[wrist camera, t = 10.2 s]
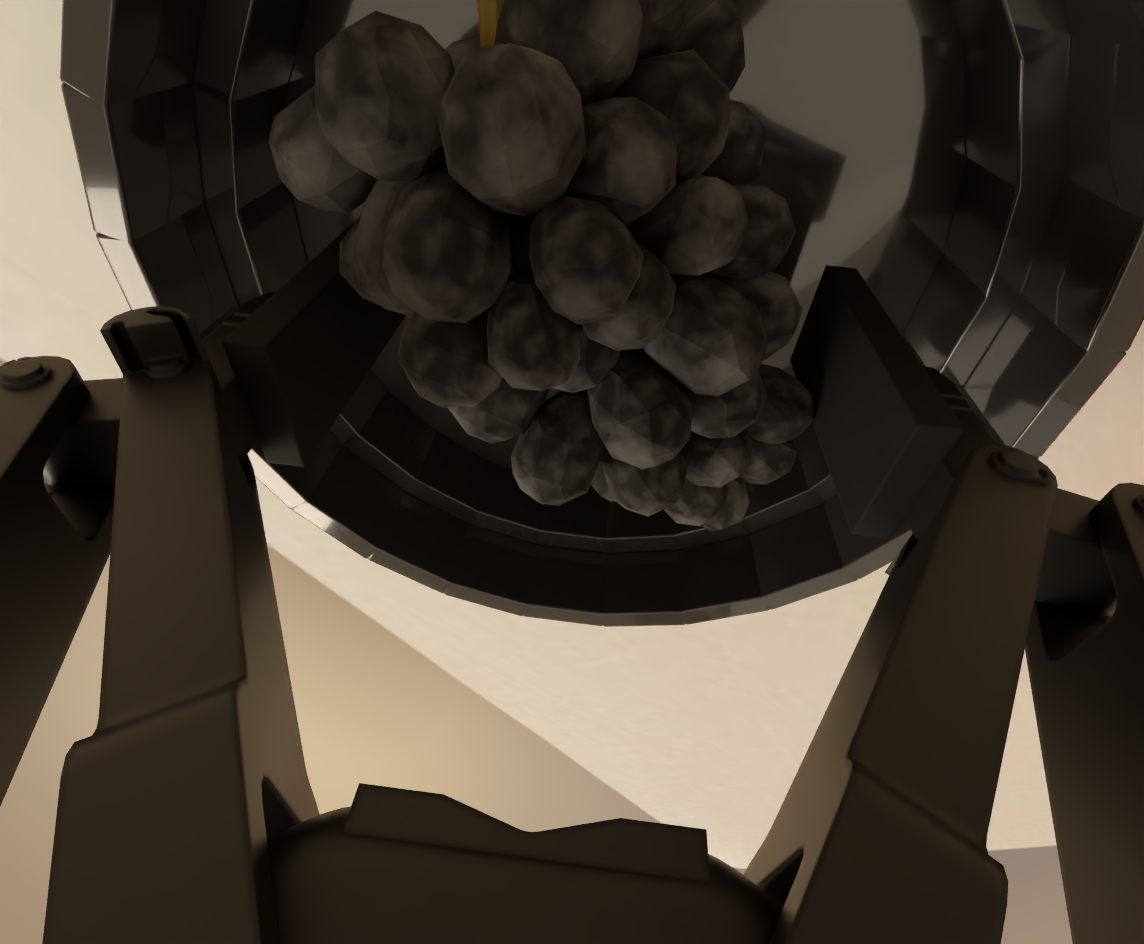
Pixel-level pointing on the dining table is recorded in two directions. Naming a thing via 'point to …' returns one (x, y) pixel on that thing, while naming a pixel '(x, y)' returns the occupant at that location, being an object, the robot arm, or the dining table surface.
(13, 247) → the dining table surface
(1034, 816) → the dining table surface
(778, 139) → the bowl
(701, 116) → the fruit
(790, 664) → the dining table surface
